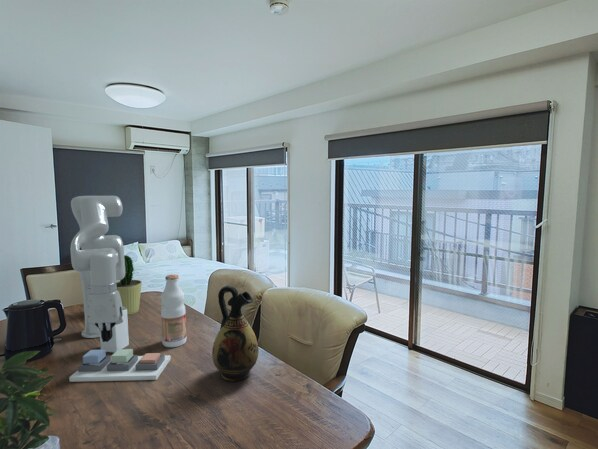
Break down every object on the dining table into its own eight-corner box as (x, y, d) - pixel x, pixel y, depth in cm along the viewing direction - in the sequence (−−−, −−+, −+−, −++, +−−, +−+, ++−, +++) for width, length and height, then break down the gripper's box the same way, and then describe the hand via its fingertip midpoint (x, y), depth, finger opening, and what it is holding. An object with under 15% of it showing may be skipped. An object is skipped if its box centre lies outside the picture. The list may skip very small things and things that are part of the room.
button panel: (93, 360, 127) (92, 351, 127) (170, 359, 128) (170, 350, 128) (69, 381, 113) (68, 371, 113) (156, 379, 114) (155, 369, 114)
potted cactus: (114, 307, 185) (111, 252, 182) (145, 305, 188) (142, 250, 186) (105, 317, 170) (102, 257, 167) (139, 315, 174) (136, 256, 171)
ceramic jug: (266, 366, 122) (265, 283, 119) (245, 390, 108) (243, 296, 105) (224, 359, 128) (222, 279, 125) (199, 380, 113) (196, 291, 110)
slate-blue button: (91, 356, 122) (90, 349, 122) (105, 356, 122) (105, 349, 122) (83, 363, 117) (82, 356, 117) (98, 363, 117) (97, 356, 117)
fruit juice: (157, 345, 139) (154, 277, 137) (174, 336, 148) (171, 272, 145) (174, 349, 135) (171, 279, 133) (191, 340, 144) (189, 274, 141)
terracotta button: (146, 360, 123) (145, 353, 123) (160, 359, 123) (160, 353, 123) (140, 367, 118) (139, 360, 118) (155, 366, 118) (154, 359, 118)
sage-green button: (118, 356, 122) (118, 349, 122) (133, 355, 123) (132, 348, 122) (111, 363, 117) (111, 355, 117) (126, 362, 118) (126, 355, 117)
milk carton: (116, 353, 133) (113, 305, 131) (100, 351, 134) (97, 303, 132) (129, 345, 140) (126, 299, 138) (113, 343, 141) (111, 298, 139)
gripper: (74, 292, 113) (78, 345, 115) (121, 291, 114) (124, 344, 116) (87, 285, 121) (90, 336, 123) (131, 285, 122) (133, 335, 124)
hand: (107, 340), depth 119 cm, fingers closed
